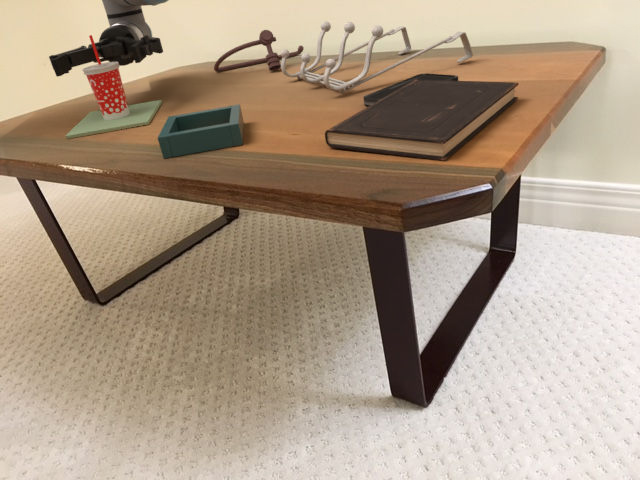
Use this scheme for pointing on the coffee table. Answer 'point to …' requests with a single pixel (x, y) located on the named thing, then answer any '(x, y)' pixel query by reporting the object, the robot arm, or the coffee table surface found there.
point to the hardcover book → (424, 118)
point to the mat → (115, 120)
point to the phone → (388, 90)
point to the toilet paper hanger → (271, 59)
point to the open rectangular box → (202, 131)
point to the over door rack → (376, 35)
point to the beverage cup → (107, 87)
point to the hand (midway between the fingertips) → (95, 61)
